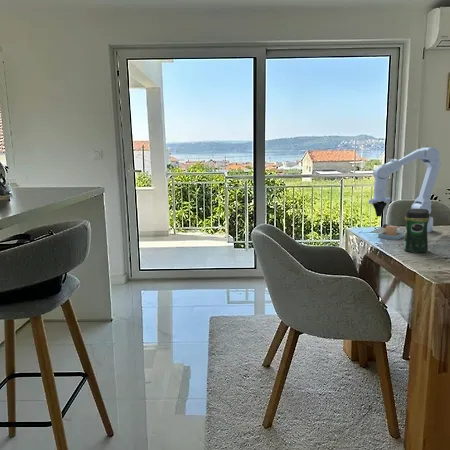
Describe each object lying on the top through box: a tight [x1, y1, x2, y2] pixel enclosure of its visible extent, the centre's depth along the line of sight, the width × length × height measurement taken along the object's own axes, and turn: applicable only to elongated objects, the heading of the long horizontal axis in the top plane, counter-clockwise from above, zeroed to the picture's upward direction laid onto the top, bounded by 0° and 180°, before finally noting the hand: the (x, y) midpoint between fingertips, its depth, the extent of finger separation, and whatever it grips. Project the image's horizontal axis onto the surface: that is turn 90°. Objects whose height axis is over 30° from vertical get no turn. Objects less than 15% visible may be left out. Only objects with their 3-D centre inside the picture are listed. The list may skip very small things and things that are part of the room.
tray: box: [377, 231, 405, 241], centre depth 195 cm, size 9×9×3 cm
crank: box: [382, 223, 392, 232], centre depth 205 cm, size 9×3×5 cm, turn 144°
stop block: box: [385, 224, 398, 236], centre depth 195 cm, size 4×4×6 cm
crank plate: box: [370, 227, 406, 234], centre depth 208 cm, size 14×14×1 cm
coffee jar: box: [403, 208, 430, 253], centre depth 172 cm, size 10×8×19 cm
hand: (378, 216), depth 207 cm, fingers closed
